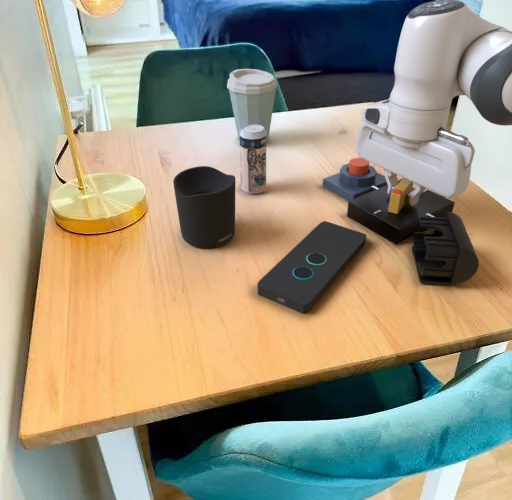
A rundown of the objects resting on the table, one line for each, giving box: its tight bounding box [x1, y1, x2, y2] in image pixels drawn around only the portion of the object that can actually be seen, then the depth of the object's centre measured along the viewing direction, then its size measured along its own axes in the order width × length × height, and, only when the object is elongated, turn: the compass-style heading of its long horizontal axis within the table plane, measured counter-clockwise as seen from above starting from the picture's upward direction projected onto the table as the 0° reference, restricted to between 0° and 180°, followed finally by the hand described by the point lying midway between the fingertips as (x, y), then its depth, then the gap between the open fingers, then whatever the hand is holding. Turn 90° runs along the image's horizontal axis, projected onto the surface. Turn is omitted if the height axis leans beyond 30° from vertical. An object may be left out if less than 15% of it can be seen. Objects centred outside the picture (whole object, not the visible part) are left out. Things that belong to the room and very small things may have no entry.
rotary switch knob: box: [388, 177, 415, 214], centre depth 84 cm, size 9×2×4 cm, turn 148°
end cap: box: [411, 211, 480, 287], centre depth 73 cm, size 10×7×7 cm
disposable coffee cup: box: [226, 68, 278, 144], centre depth 109 cm, size 11×11×15 cm
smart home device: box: [257, 220, 368, 314], centre depth 75 cm, size 8×2×20 cm
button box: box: [322, 162, 388, 201], centre depth 95 cm, size 10×8×4 cm
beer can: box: [239, 124, 267, 195], centre depth 92 cm, size 5×5×12 cm
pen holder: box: [172, 165, 236, 249], centre depth 80 cm, size 9×9×10 cm
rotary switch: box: [346, 178, 456, 246], centre depth 86 cm, size 14×13×3 cm
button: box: [348, 157, 370, 176], centre depth 93 cm, size 4×4×2 cm
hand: (402, 199), depth 85 cm, fingers closed on rotary switch knob, 2 cm apart
